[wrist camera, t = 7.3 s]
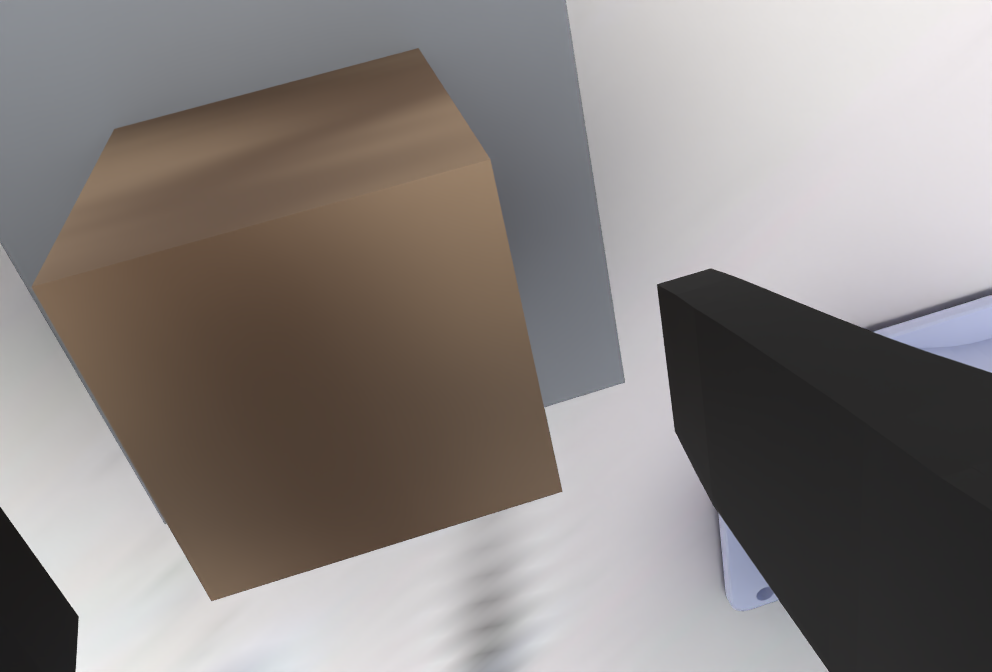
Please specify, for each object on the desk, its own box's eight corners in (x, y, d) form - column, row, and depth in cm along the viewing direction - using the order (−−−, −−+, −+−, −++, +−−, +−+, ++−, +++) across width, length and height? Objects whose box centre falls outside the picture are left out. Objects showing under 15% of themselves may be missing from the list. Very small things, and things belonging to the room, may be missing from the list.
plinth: (503, -145, 14) (544, -139, 12) (585, 319, 19) (625, 382, 17) (-59, -1, 13) (-122, 33, 11) (177, 442, 18) (165, 524, 16)
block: (418, 47, 13) (490, 158, 8) (482, 305, 15) (562, 491, 11) (114, 128, 12) (31, 288, 8) (229, 379, 15) (211, 601, 11)
